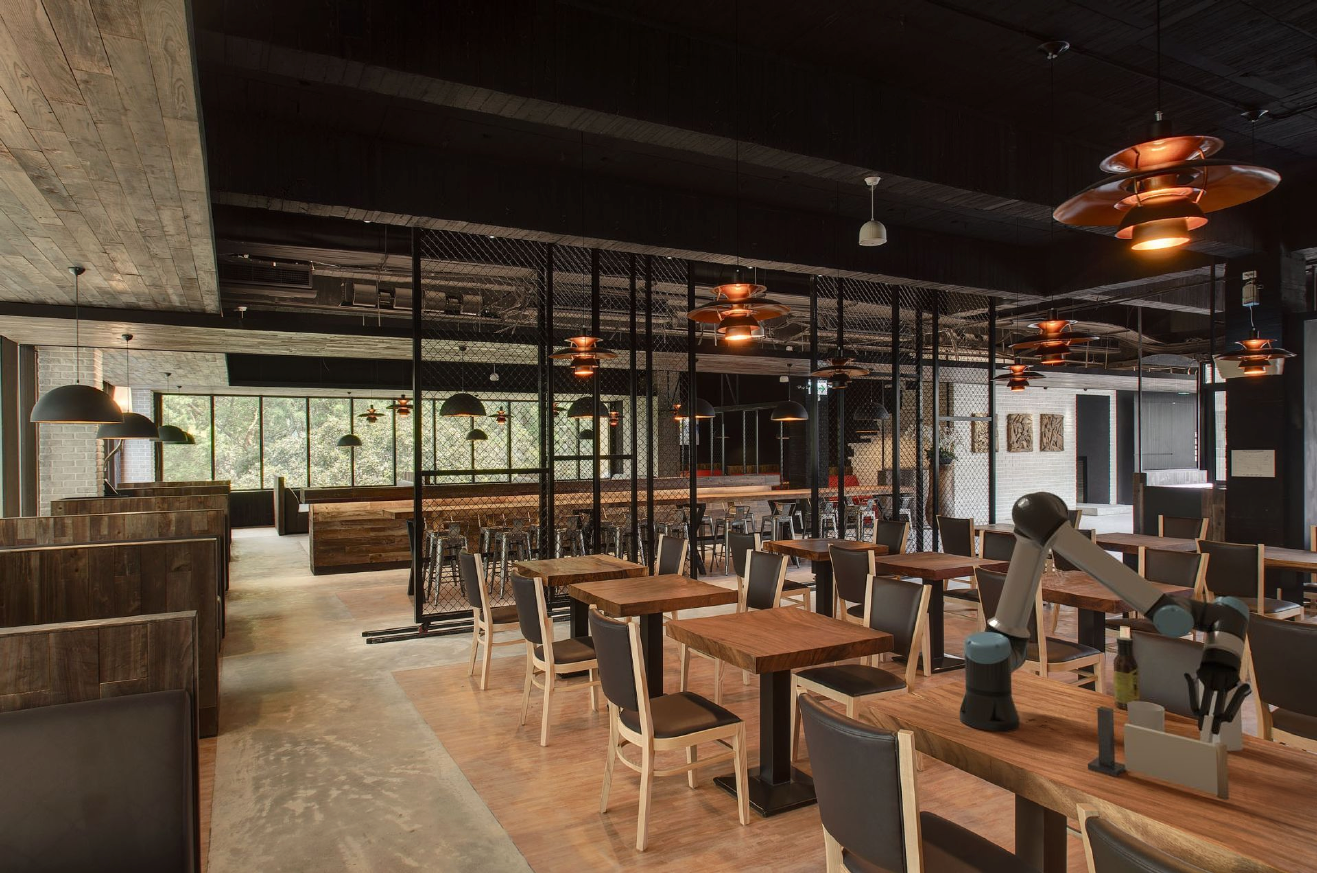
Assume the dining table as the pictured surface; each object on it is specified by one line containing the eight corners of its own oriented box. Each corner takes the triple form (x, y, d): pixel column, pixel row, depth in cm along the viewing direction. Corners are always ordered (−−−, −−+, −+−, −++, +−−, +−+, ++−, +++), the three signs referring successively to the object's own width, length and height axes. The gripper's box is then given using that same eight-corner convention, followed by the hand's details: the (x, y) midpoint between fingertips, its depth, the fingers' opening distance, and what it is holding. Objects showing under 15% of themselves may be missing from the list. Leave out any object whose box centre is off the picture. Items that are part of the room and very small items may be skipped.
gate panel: (1124, 771, 168) (1123, 722, 169) (1127, 769, 169) (1126, 721, 170) (1227, 800, 154) (1225, 747, 154) (1229, 798, 155) (1228, 744, 155)
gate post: (1088, 769, 172) (1086, 708, 173) (1098, 762, 176) (1096, 702, 177) (1116, 777, 168) (1114, 714, 168) (1126, 770, 171) (1124, 709, 172)
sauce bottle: (1140, 712, 210) (1137, 642, 211) (1114, 709, 214) (1112, 639, 215) (1139, 706, 216) (1137, 637, 217) (1114, 702, 219) (1112, 635, 220)
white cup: (1172, 753, 181) (1170, 712, 181) (1136, 751, 183) (1135, 710, 183) (1157, 741, 189) (1155, 702, 189) (1123, 739, 190) (1121, 700, 191)
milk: (1200, 742, 188) (1196, 655, 189) (1222, 741, 189) (1218, 654, 190) (1221, 752, 182) (1217, 661, 183) (1243, 750, 183) (1239, 660, 184)
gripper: (1259, 670, 174) (1245, 762, 162) (1193, 660, 184) (1175, 745, 172) (1253, 651, 170) (1237, 743, 159) (1185, 642, 180) (1167, 728, 169)
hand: (1205, 744), depth 166 cm, fingers closed
